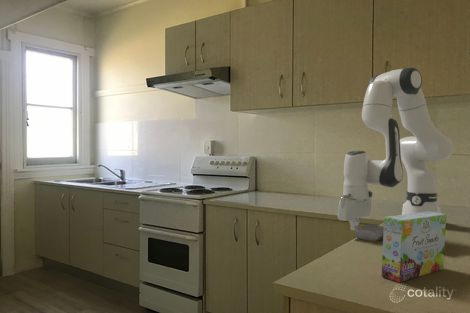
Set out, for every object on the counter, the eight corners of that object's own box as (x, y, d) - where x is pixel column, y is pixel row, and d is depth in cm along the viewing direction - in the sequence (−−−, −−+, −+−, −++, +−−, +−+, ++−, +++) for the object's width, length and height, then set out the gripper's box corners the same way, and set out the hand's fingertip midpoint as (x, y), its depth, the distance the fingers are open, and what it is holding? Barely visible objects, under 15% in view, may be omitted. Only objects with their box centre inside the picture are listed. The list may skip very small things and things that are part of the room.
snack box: (402, 284, 89) (403, 219, 89) (380, 277, 93) (381, 216, 93) (445, 269, 101) (447, 212, 101) (424, 264, 106) (426, 210, 106)
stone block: (390, 242, 141) (364, 232, 147) (393, 229, 140) (367, 221, 146) (380, 249, 132) (352, 238, 138) (382, 236, 131) (355, 226, 137)
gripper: (349, 196, 135) (348, 235, 135) (374, 192, 149) (373, 227, 149) (333, 194, 139) (332, 232, 139) (359, 191, 154) (358, 225, 154)
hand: (354, 229), depth 144 cm, fingers closed
